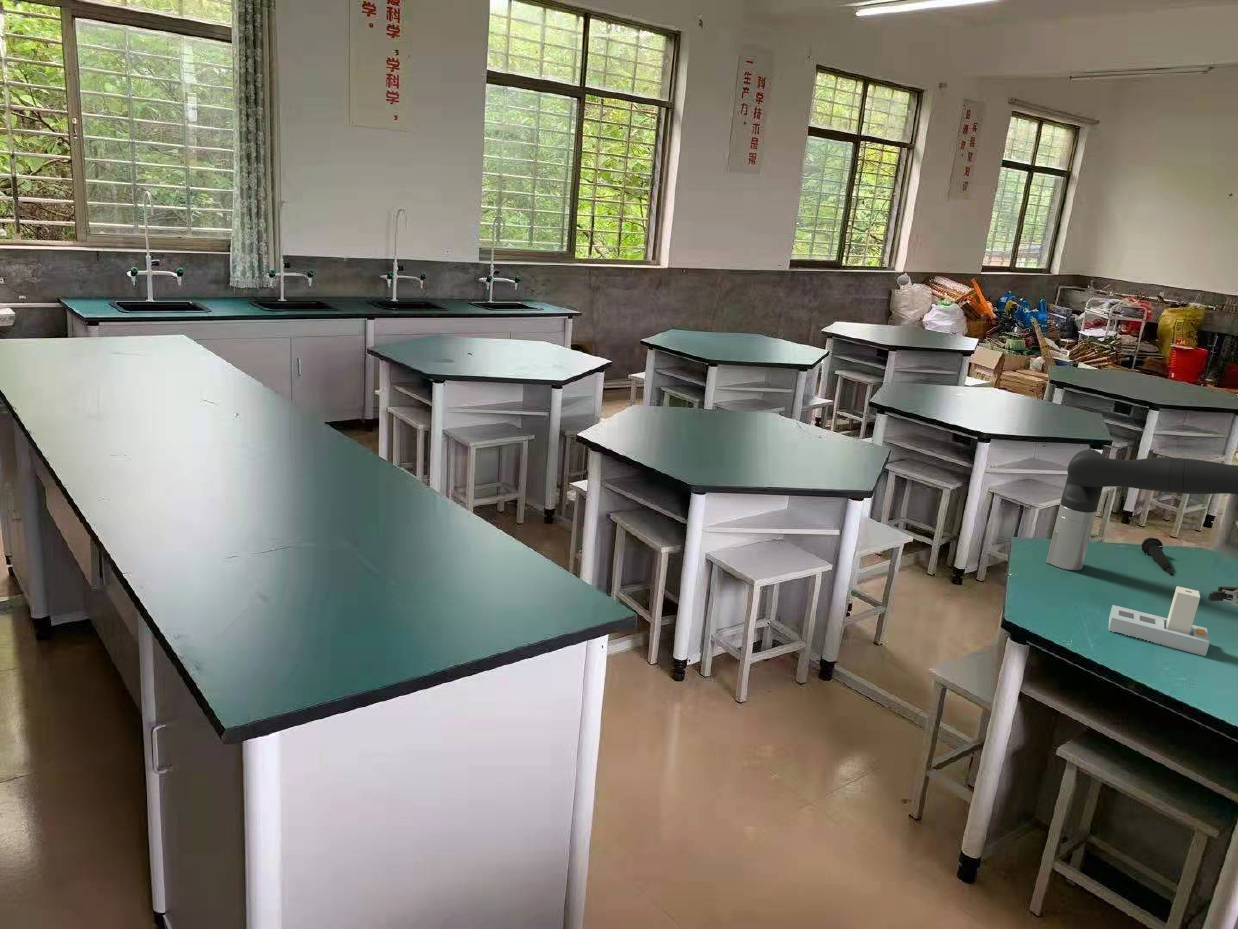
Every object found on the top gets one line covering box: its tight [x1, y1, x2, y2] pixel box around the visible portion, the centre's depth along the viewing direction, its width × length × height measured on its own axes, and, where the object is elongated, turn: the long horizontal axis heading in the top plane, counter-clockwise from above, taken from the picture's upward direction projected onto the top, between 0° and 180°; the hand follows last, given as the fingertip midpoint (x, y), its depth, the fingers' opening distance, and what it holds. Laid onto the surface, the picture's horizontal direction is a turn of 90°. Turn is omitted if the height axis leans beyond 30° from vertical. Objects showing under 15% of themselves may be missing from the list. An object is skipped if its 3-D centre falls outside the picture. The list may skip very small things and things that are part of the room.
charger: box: [1165, 585, 1201, 635], centre depth 213 cm, size 4×4×12 cm
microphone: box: [1141, 537, 1174, 576], centre depth 266 cm, size 6×6×20 cm
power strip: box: [1108, 604, 1211, 657], centre depth 216 cm, size 20×9×4 cm, turn 61°
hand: (1224, 604), depth 214 cm, fingers open, 8 cm apart
